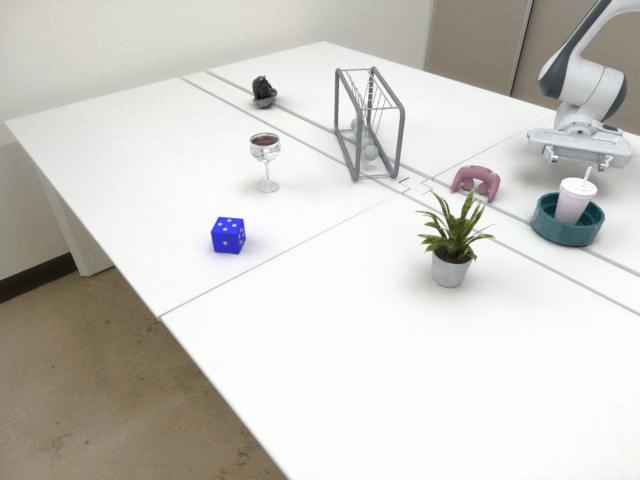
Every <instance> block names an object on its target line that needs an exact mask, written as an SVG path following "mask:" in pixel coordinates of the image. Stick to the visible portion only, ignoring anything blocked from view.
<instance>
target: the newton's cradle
mask: <svg viewBox="0 0 640 480" xmlns="http://www.w3.org/2000/svg"><path fill="white" fill-rule="evenodd" d="M352 71H353V72H354V71H366V72H367V73H368V80H367V81H365V83H367V85H366V86H365V87H363V89H365V93H364V97H362V93H360V91H359V90H358V87H356V85H355V84H356V81H353V79H352V76H350V74H349V72H352ZM343 72H345V73H346V75H347V77H348V79H349V81H350V83H351V85H352V86H351V87H350V85H349V82H348V81H347V78H346V76H345V75H344V73H343ZM375 76H376V78H377V79H378V81H379V82H380V83H381V85H382V86H383V88H384V90H385V91H386V93H387V94H388V95H389V97H390V99H391V100H392V101H393V103H394V104H395V105H396V106H393V105H392V103H391V102H390V100H389V98H388V97H387V95H386V94H385V93H384V91H383V89H382V88H381V86H380V85H379V83H378V82H377V81H376V79H375ZM359 77H360V78H363V77H364V75H358V76H355V78H359ZM340 81H341V84H342V85H343V88H344V90H345V91H346V93H347V96H348V97H349V100H350V101H351V103H352V105H353V107H354V112H356V113H355V118H353V119H352V121H351V122H350V128H347V129H346V128H345V129H339V104H340ZM374 84H375V85H376V87H375V92H373V91H374ZM377 90H379V92H380V93H379V94H380V95H379V98H378V99H377V101H378V102H377V106H376V107H374V103H375V100H376V94H377ZM367 91H368V93H367ZM366 95H367V96H368V97H367V99H365V98H366ZM373 95H374V96H373ZM381 96H383V98H381ZM382 100H384V102H383V105H382V106H381V107H379V103H380V101H382ZM366 101H367V104H366V103H365V102H366ZM359 102H360V103H359ZM386 102H387V103H388V105H389V106H386V107H385V103H386ZM360 104H361V105H360ZM333 106H334V107H333V108H334V109H333V110H334V115H333V121H334V122H333V124H334V125H333V127H334V131H335V135H336V137H337V139H338V143H339V146H340V148H341V150H342V153H343V156H344V158H345V161H346V163H347V166H348V169H349V172H350V173H351V177H352V179H353V180H354V181H358V180H359V178H360V179H361V178H372V177H384V176H385V177H386V176H392V178H395V179H396V178H397V177H398V175H399V171H400V163H401V156H402V147H403V137H404V130H405V124H406V123H405V122H406V109H405V106H404V104H403V103H402V102H401V101H400V99H399V98H398V96H397V95H396V94H395V92H394V90H393V89H392V87H390V85H389V83H388V82H387V81H386V79H385V78H384V77H383V75H382V74H381V73H380V71H379V70H378V68H377V67H376V66H375V65H373V66H371V67H367V68H365V67H364V68H347V69H345V68H344V69H341V68H340V67H336V69H335V72H334V105H333ZM395 109H397V110H399V111H398V112H399V121H398V130H397V140H396V148H395V155H394V156H395V157H394V165H392V164H391V161H390V159H389V158H388V156H387V154H386V152H385V150H384V148H383V147H382V145H381V143H380V140H379V139H378V137H377V133H378V129H379V127H380V122H381V118H382V114H383V111H384V110H395ZM380 110H381V113H380V116H379V120H378V124H377V127H376V132H375V131H374V130H373V126H374V121H375V118H376V114H377V111H380ZM372 111H375V113H374V116H373V121H372ZM364 112H365V113H364ZM365 121H366V124H365ZM371 121H372V122H371ZM348 131H350V132H351V131H353V134H354V136H355V137H356V140H355V141H356V142H355V144H356V145H355V158H354V159H355V161H354V165H353V162H352V159H351V157H350V153H349V152H348V149H347V146H346V144H345V141H344V139H343V135H342V134H341V132H348ZM362 152H363V153H362ZM362 154H363V157H364V158H365V160H367V161H370V162H371V161H375V160H376V159H377V158H379V155H380V156H381V158H382V160H383V162H384V164H385V166H386V168H387V169H388V170H387V171H388V172H389V173H381V174H380V173H379V174H365V175H360V173H361V172H360V171H361V155H362ZM393 166H394V167H393Z"/></svg>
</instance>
